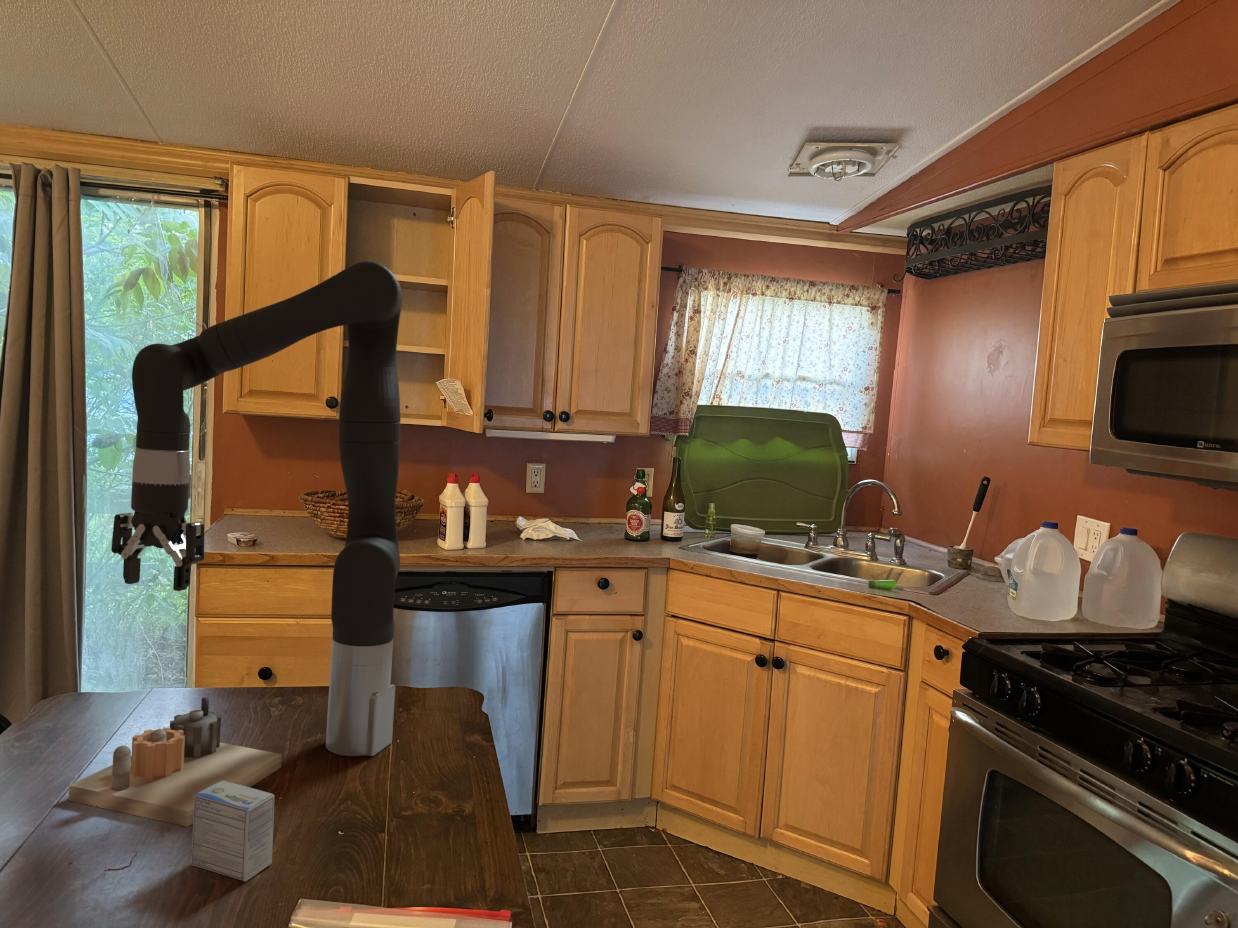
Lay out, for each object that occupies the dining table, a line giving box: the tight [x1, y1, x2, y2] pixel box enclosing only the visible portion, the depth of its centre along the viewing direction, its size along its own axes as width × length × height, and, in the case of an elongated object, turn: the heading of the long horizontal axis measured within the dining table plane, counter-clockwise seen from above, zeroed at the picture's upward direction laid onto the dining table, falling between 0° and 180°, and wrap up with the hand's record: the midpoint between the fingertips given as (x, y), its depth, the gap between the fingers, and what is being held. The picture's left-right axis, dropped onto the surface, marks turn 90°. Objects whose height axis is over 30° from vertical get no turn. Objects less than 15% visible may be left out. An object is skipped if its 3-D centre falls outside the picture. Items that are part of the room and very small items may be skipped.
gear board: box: [68, 696, 283, 827], centre depth 117 cm, size 18×19×9 cm
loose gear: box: [131, 727, 185, 779], centre depth 117 cm, size 6×6×4 cm
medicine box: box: [190, 781, 276, 882], centre depth 98 cm, size 8×4×9 cm, turn 71°
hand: (155, 586), depth 128 cm, fingers open, 8 cm apart
